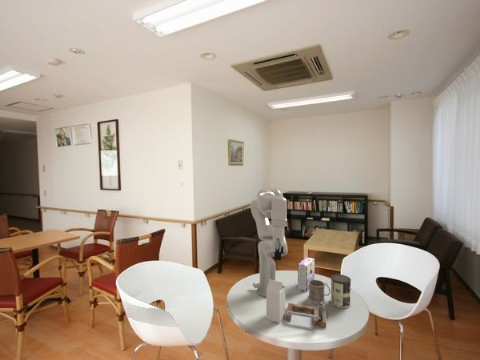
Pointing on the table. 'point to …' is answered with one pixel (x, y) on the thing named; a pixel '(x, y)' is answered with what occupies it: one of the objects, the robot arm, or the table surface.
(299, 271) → the candy box
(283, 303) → the milk carton
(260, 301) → the table surface
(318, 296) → the mug
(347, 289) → the coffee can
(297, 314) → the rail
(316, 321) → the wooden frame
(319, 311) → the hook post
